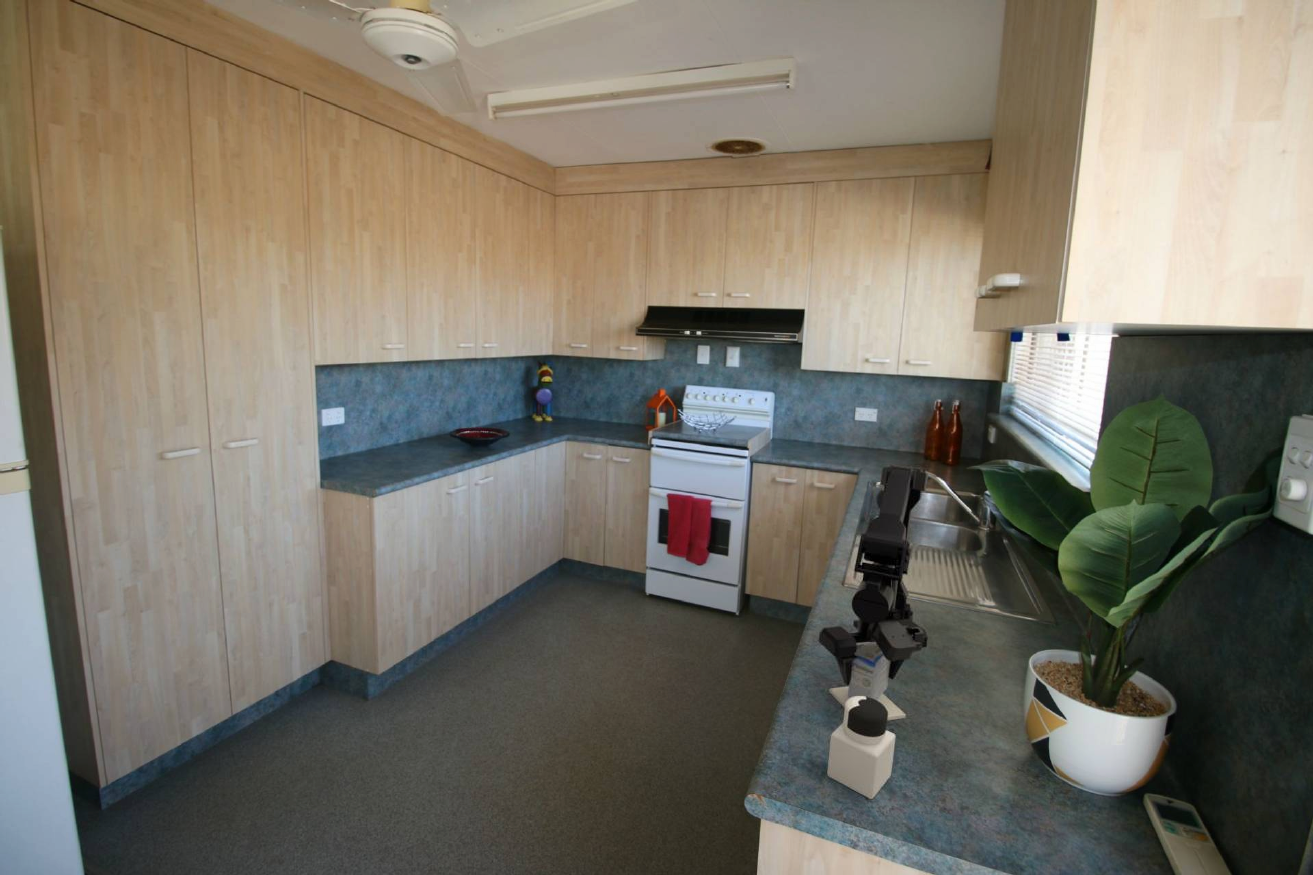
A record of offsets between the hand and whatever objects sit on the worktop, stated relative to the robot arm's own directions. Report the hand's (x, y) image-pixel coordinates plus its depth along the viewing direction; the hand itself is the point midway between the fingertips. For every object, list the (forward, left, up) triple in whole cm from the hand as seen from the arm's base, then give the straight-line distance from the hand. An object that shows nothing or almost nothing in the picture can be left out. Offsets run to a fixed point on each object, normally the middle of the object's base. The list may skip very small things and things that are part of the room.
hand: (868, 681), depth 113 cm
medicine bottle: (+12, +16, -5) cm, 21 cm away
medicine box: (0, 0, -3) cm, 3 cm away
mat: (0, 0, -5) cm, 5 cm away
